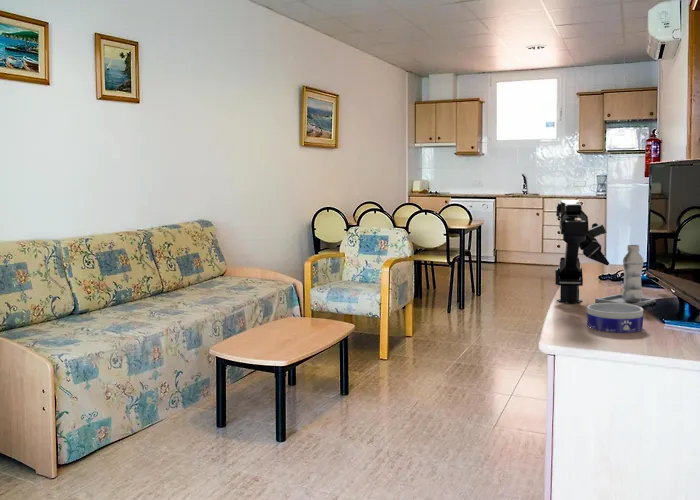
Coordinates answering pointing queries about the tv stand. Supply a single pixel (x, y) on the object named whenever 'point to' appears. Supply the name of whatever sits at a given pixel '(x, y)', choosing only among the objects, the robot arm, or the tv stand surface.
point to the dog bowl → (615, 317)
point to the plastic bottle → (632, 275)
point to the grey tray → (619, 299)
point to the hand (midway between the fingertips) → (607, 262)
